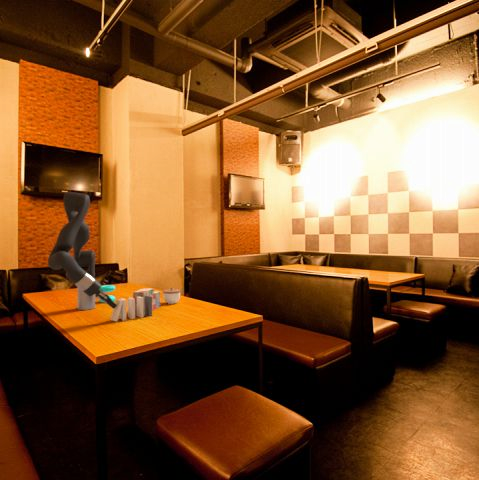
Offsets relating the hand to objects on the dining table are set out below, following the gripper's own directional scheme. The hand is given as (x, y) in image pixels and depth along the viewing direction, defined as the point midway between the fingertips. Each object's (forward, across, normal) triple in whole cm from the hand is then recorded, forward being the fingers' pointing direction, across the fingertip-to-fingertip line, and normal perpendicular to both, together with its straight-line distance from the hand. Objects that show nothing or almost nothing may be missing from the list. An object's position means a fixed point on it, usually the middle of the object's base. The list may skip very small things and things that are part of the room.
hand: (114, 306), depth 161 cm
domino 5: (+17, 0, -7) cm, 19 cm away
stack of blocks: (+20, +12, -10) cm, 26 cm away
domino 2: (+8, 0, +2) cm, 8 cm away
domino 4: (+14, 0, -4) cm, 14 cm away
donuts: (+14, +54, -4) cm, 56 cm away
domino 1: (+4, 0, +5) cm, 7 cm away
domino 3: (+11, 0, -1) cm, 11 cm away
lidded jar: (+35, +22, -25) cm, 48 cm away
